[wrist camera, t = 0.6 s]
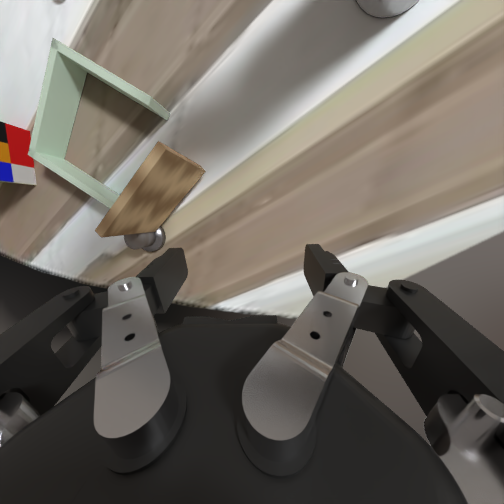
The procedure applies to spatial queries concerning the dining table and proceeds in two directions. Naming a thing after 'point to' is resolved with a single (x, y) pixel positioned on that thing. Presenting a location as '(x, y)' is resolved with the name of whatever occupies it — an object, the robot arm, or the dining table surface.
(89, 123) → the dining table surface
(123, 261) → the dining table surface
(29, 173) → the puzzle toy
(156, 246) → the pivot disc
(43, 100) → the tray
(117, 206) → the tan wooden flat panel
